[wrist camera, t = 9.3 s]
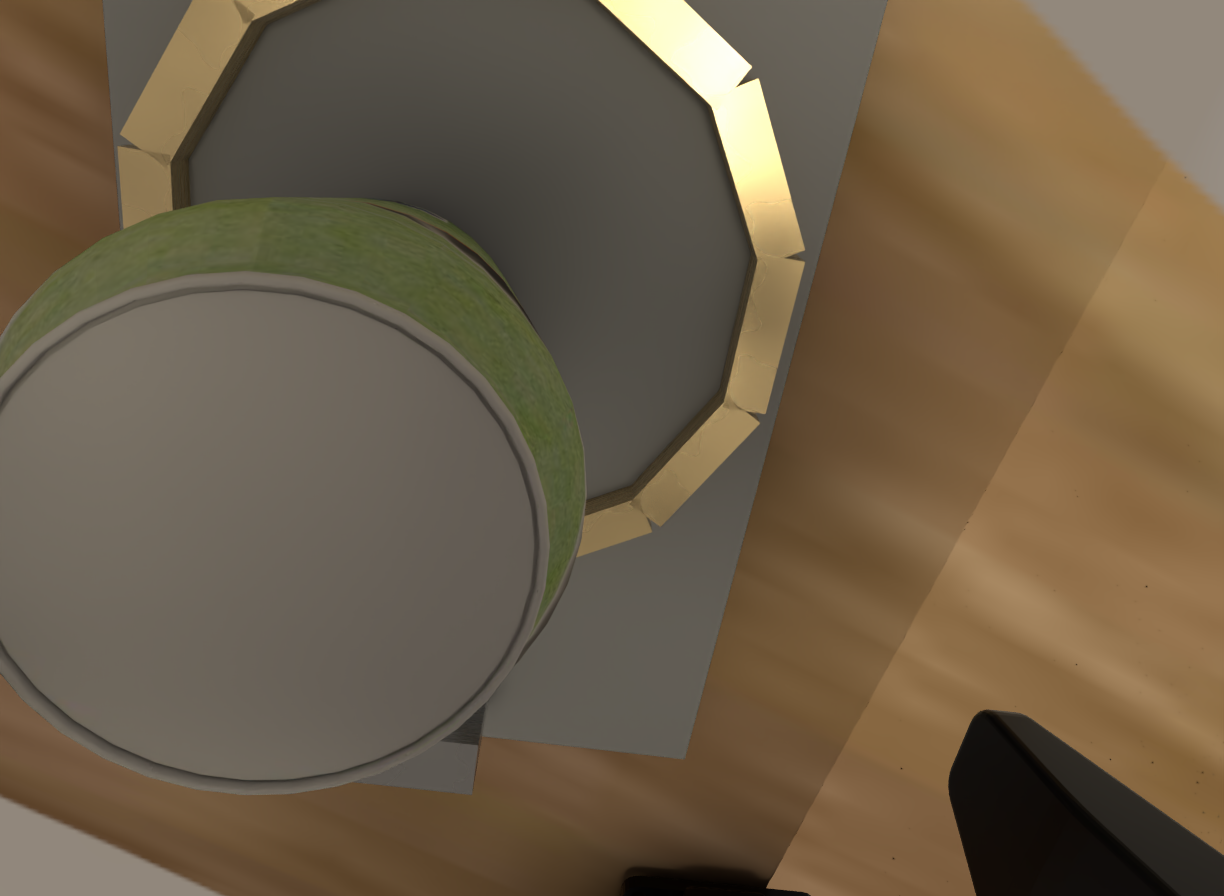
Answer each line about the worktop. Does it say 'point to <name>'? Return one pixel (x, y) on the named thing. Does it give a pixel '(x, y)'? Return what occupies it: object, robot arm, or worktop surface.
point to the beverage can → (278, 491)
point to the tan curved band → (702, 60)
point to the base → (562, 260)
